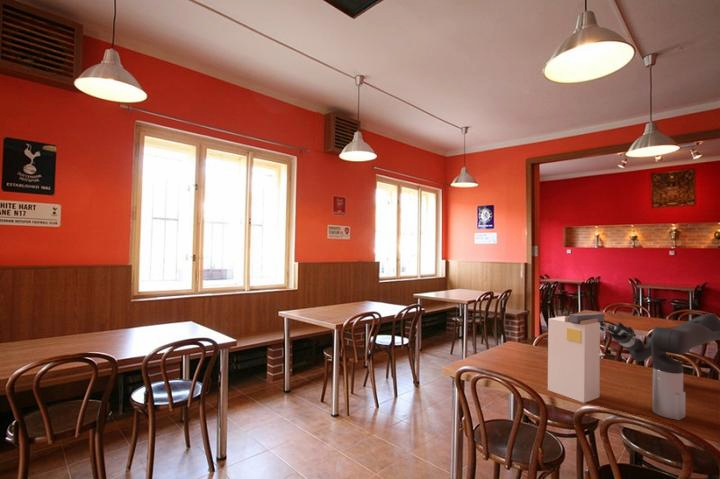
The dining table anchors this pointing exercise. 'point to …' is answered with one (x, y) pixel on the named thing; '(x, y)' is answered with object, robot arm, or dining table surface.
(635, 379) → the dining table surface
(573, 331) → the cream carton
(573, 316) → the dark gray bar
